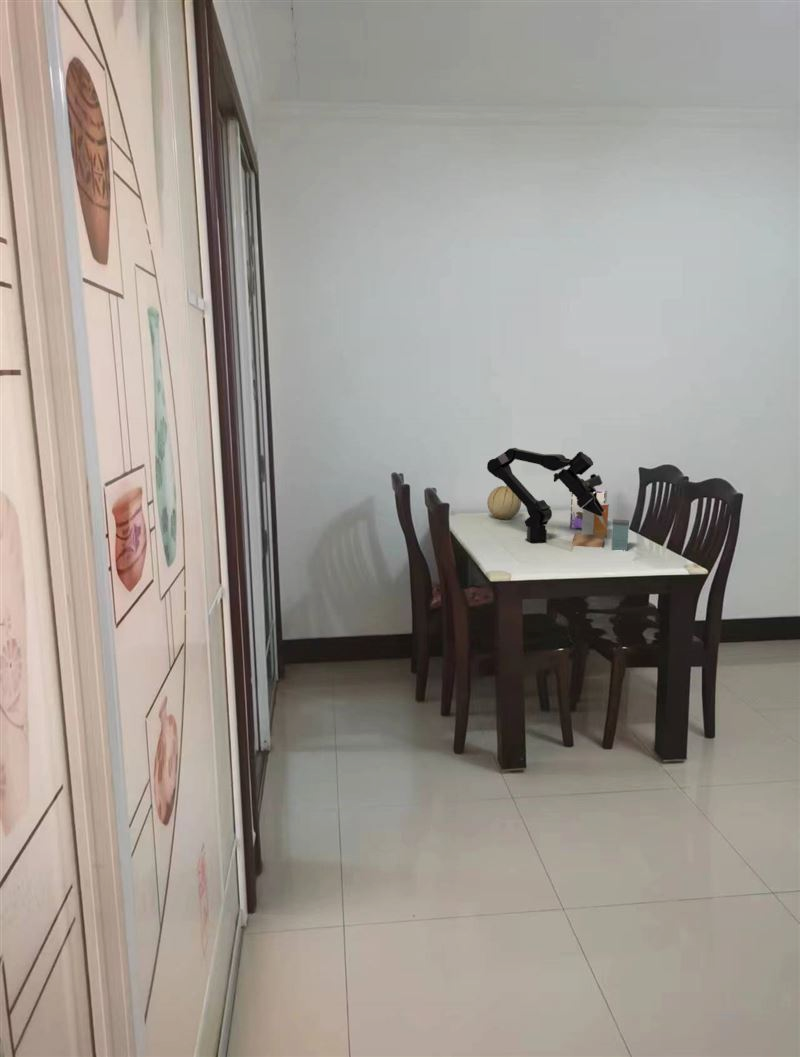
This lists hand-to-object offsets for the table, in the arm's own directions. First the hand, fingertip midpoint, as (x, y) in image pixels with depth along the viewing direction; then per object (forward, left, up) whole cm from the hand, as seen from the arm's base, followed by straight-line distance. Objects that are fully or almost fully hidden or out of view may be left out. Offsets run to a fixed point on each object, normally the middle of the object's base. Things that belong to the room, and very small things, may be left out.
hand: (602, 513), depth 292 cm
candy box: (+12, +35, -13) cm, 39 cm away
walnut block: (-1, +8, -13) cm, 16 cm away
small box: (+8, +21, -13) cm, 26 cm away
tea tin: (+6, -3, -13) cm, 15 cm away
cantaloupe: (-14, +64, -13) cm, 66 cm away
